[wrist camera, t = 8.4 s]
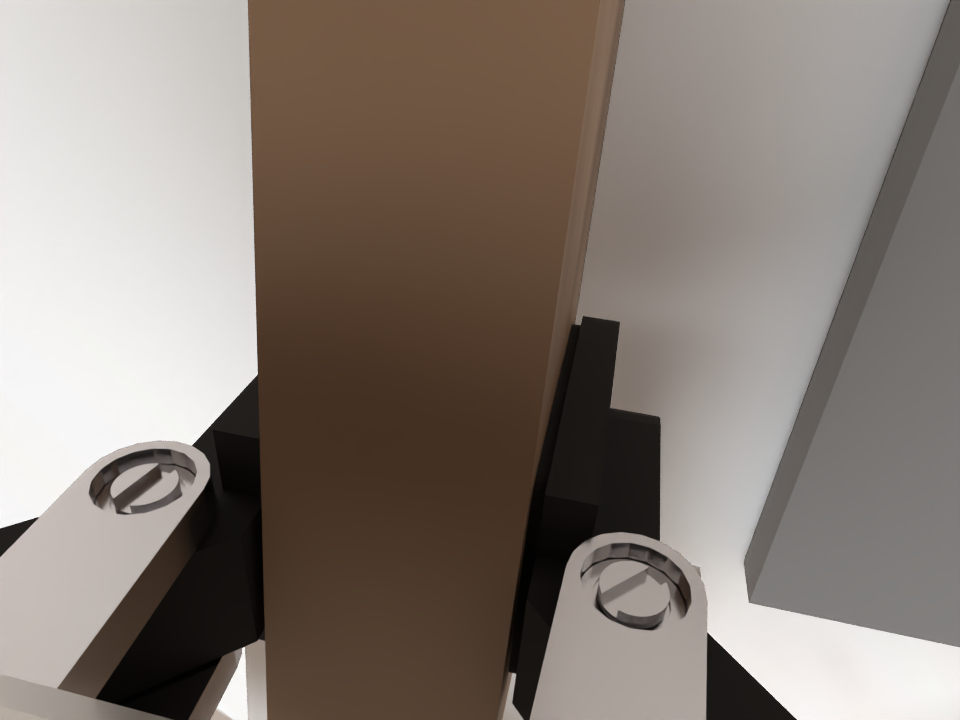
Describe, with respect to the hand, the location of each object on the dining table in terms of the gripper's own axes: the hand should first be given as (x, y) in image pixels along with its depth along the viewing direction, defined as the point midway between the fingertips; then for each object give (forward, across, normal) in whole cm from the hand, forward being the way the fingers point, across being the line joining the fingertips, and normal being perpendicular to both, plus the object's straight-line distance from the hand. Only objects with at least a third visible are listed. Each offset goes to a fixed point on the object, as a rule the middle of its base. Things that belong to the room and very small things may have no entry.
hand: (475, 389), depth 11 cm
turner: (0, 0, +2) cm, 2 cm away
